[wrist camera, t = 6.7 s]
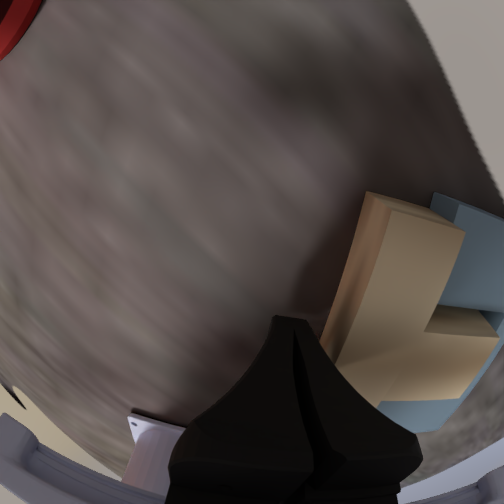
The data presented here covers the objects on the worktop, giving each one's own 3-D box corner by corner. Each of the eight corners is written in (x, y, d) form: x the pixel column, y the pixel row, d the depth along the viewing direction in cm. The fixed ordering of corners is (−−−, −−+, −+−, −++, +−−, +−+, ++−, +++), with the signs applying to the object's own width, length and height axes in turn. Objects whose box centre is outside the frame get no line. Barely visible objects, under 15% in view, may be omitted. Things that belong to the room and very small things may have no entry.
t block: (410, 405, 15) (421, 440, 12) (294, 399, 15) (294, 441, 12) (501, 234, 10) (538, 258, 7) (365, 190, 10) (391, 210, 8)
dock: (429, 408, 15) (437, 429, 13) (339, 410, 15) (342, 436, 13) (526, 229, 10) (549, 243, 8) (433, 191, 10) (459, 203, 8)
